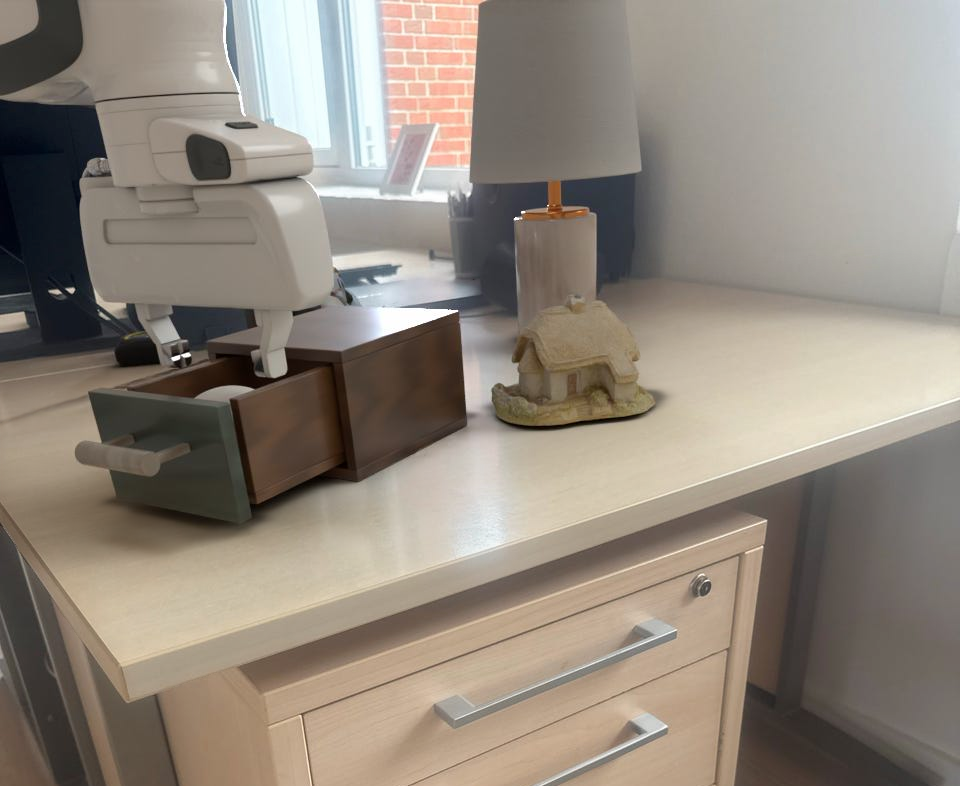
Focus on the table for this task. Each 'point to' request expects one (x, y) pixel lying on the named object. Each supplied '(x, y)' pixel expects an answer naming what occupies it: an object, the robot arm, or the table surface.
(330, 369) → the drawer
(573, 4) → the lamp
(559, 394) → the ceramic model
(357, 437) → the cabinet
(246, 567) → the table surface
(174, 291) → the robot arm
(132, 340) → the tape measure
